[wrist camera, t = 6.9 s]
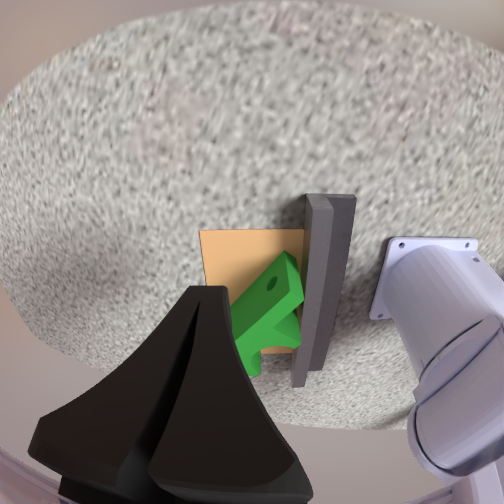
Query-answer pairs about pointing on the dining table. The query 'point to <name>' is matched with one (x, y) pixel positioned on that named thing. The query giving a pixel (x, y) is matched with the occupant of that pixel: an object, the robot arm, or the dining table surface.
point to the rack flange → (309, 265)
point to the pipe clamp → (268, 312)
